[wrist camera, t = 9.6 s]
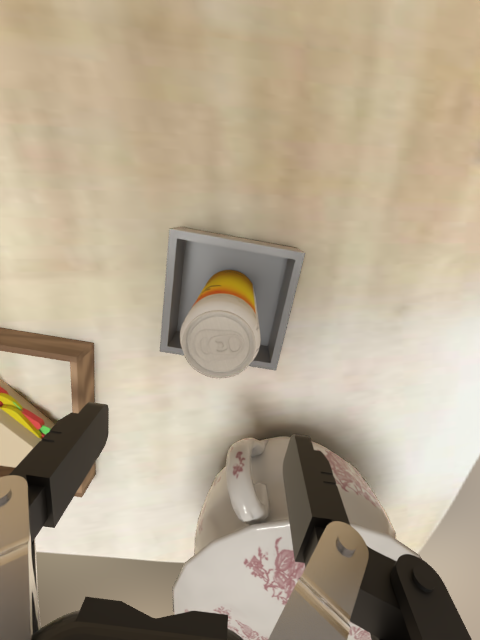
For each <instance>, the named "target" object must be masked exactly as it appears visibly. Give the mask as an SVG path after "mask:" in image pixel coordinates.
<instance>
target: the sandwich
mask: <svg viewBox="0 0 480 640" xmlns="http://www.w3.org/2000/svg"><path fill="white" fill-rule="evenodd" d="M54 425H55V423H53V422H52V421H51V420H50V419H49V418H47V417H46V416H45V415H44V414H42V413H41V412H40V411H39V410H38V409H36V408H35V407H34V406H33V405H32V404H30V403H29V402H28V401H27V400H26V399H24V398H23V397H22V396H21V395H19V394H18V393H17V392H16V391H15V390H13V389H12V388H11V387H10V386H9V385H7V384H6V383H5V382H4V381H3V380H1V379H0V466H8V467H15V468H16V467H17V465H18V464H19V463H20V462H21V461H22V460H23V459H24V458H25V457H26V456H27V455H28V453H29V452H30V451H31V450H32V449H33V448H34V447H35V446H36V445H37V444H38V443H39V441H41V440H42V438H43V437H44V436H45V435H46V434H47V433H49V431H50V430H51V428H52V427H53V426H54Z"/></svg>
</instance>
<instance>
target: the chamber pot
mask: <svg viewBox="0 0 480 640" xmlns="http://www.w3.org/2000/svg"><path fill="white" fill-rule="evenodd" d="M289 441H290V437H285V436H280V437H274V438H269V439H262V440H257V439H255V438H250V437H247V438H244V439H241V440H239V441H237V442H236V443H234V444H233V445H232V446H231V447H230V448H229V450H228V454H227V458H226V466H225V467H224V468H223V469H222V470H221V471H220V472H219V473H218V474H217V475H216V477H215V479H214V481H213V483H212V485H211V487H210V489H209V491H208V493H207V496H206V499H205V501H204V504H203V507H202V510H201V512H200V515H199V518H198V523H197V529H196V535H195V548H194V556H193V557H192V558H190V559H189V560H188V561H187V562H185V564H184V566H183V568H182V570H181V571H180V573H179V575H178V577H177V579H176V581H175V583H174V585H173V587H172V589H173V590H172V591H173V612H174V614H175V615H176V614H180V613H185V612H189V611H202V612H209V613H217V614H225V615H228V629H230V630H232V631H234V632H235V633H236V634H238V635H239V636H240V637H242V638H243V639H244V640H268V639H269V637H270V635H271V633H272V631H273V629H274V627H275V625H276V623H277V621H278V619H279V617H280V615H281V613H282V611H283V609H284V607H285V605H286V603H287V601H288V599H289V597H290V595H291V593H292V591H293V589H294V587H295V585H296V583H297V582H298V580H299V578H301V576H302V574H303V572H304V570H305V563H301V562H295V559H294V552H293V545H292V538H291V530H290V523H289V516H288V509H287V502H286V494H285V487H284V480H283V461H284V457H285V454H286V451H287V447H288V444H289ZM312 444H313V448H314V450H318V451H321V452H322V453H323V454H324V456H325V457H326V458H327V460H328V461H329V463H330V466H331V469H332V472H333V476H334V478H335V481H336V485H337V487H338V490H339V493H340V496H341V499H342V502H343V505H344V508H345V511H346V514H347V517H348V520H349V523H350V525H351V527H353V528H354V529H355V530H356V531H357V532H358V533H359V534H360V535H361V536H362V538H363V539H364V541H365V543H366V545H367V546H368V547H370V548H371V549H373V550H375V551H377V552H379V553H381V554H383V555H385V556H387V557H389V558H391V559H393V560H395V561H397V560H398V558H399V557H400V556H401V555H403V554H411V555H414V556H416V557H418V558H420V559H421V557H420V555H418V554H417V553H415V552H414V551H412V550H411V549H410V548H408V547H407V546H405V545H404V544H402V543H401V542H399V541H398V540H396V533H395V530H394V528H393V526H392V524H391V522H390V520H389V518H388V516H387V514H386V512H385V510H384V508H383V507H382V505H381V504H380V502H379V500H378V499H377V497H376V496H375V494H374V493H373V491H372V490H371V488H370V487H369V486H368V484H367V483H366V481H365V480H364V479H363V477H362V476H361V474H360V473H359V472H358V470H357V469H356V468H355V467H354V466H352V465H351V464H349V463H348V462H347V461H345V460H344V459H343V458H341V457H340V456H338V455H337V454H335V453H334V452H332V451H331V450H329V449H327V448H326V447H324V446H323V445H321V444H319V443H316V442H313V441H312ZM349 625H350V631H349V635H348V638H347V640H372V639H371V635H370V633H369V632H367V631H366V630H364V629H362V628H360V627H359V626H357V625H355V624H353V623H352V622H350V621H349Z"/></svg>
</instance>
